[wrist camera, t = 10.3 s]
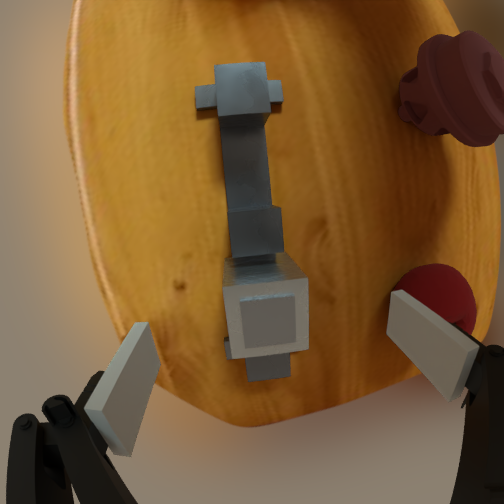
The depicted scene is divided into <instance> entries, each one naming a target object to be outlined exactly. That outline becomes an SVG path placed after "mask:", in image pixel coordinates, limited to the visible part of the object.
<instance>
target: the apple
mask: <svg viewBox="0 0 504 504" xmlns="http://www.w3.org/2000/svg"><path fill="white" fill-rule="evenodd" d="M397 290H403V291H405V292H406V293H408V294H409V295H411V296H412V297H413V298H415V299H416V300H418V301H419V302H421V303H422V304H423V305H425V306H426V307H428V308H429V309H430V310H432V311H433V312H435V313H436V314H437V315H439V316H440V317H442V318H443V319H444V320H446V321H447V322H451V323H453V324H456V325H458V326H459V327H460V328H462V329H463V330H464V331H466V332H467V333H469V335H471V334H472V332H473V330H474V326H475V323H476V304H475V298H474V295H473V292H472V289H471V287H470V286H469V284H468V282H467V280H466V279H465V278H464V277H463V276H462V275H461V274H460V272H459V271H457V270H456V269H455V268H453V267H451V266H448V265H444V264H429V265H423V266H419V267H416V268H414V269H412V270H410V271H409V272H408V273H406V274H405V275H404V276H403V277H402V278H401V279H400V281H399V282H398V283H397V285H396V287H395V288H394V291H397ZM389 308H390V306H389Z"/></svg>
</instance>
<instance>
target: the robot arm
mask: <svg viewBox="0 0 504 504" xmlns="http://www.w3.org/2000/svg"><path fill="white" fill-rule="evenodd" d="M386 334H387V335H388V336H389V337H390V339H391V340H392V341H393V342H394V343H395V344H396V345H397V346H398V347H399V348H400V349H401V350H402V351H403V352H404V353H405V355H406V356H407V357H408V358H409V359H410V360H411V361H412V362H413V363H414V364H415V365H416V366H417V368H418V369H419V370H420V371H421V372H422V373H423V374H424V375H425V376H426V377H427V379H428V380H429V381H430V382H431V383H432V384H433V385H434V386H435V388H436V389H437V390H438V391H439V392H440V393H441V394H442V395H443V396H444V398H445V399H446V400H447V401H448V402H451V401H452V400H454V399H456V398H458V397H460V396H461V393H462V391H463V389H464V387H467V389H468V393H467V395H466V397H465V399H464V401H463V403H462V406H461V408H463V407H464V405H465V404H466V413H465V425H464V435H463V443H462V450H461V456H460V462H459V467H458V473H457V477H456V482H455V486H454V490H453V494H452V498H451V501H450V504H504V348H503V347H501V346H499V345H489V346H487V347H486V346H484V345H483V344H482V343H480V342H479V341H478V340H477V339H475V338H474V337H473V336H471V335H469V333H467V332H466V331H464V330H463V329H462V328H460V327H459V326H458V325H456V324H453V323H451V322H447V321H446V320H444V319H443V318H442V317H440V316H439V315H437V314H436V313H435V312H433V311H432V310H430V309H429V308H428V307H426V306H425V305H423V304H422V303H421V302H419V301H418V300H416V299H415V298H413V297H412V296H411V295H409V294H408V293H406V292H405V291H403V290H397V291H392V292H391V299H390V308H389V317H388V325H387V332H386ZM160 365H161V364H160V360H159V357H158V354H157V351H156V347H155V344H154V341H153V337H152V334H151V330H150V326H149V323H148V322H136V323H135V324H134V325H133V327H132V328H131V330H130V331H129V333H128V335H127V336H126V338H125V339H124V341H123V343H122V344H121V346H120V347H119V349H118V351H117V352H116V354H115V356H114V357H113V359H112V361H111V362H110V364H109V365H108V367H107V369H106V371H98V372H97V373H96V374H95V375H93V376H92V377H91V379H90V380H89V382H88V384H87V386H86V387H85V388H84V391H83V392H82V393H81V395H80V396H79V398H78V400H77V402H76V403H75V405H73V403H72V401H71V400H70V398H69V397H67V396H65V395H55V396H52V397H50V398H49V399H47V400H46V401H45V402H44V404H43V406H42V412H43V414H44V415H45V417H46V418H47V420H48V421H49V422H45V423H40V422H39V421H38V419H37V418H36V417H35V415H33V414H23V415H21V416H19V417H18V418H17V419H16V420H15V422H14V424H13V430H12V435H11V441H10V448H9V458H8V467H7V485H6V504H74V500H73V493H72V487H71V484H72V486H73V488H74V491H75V493H76V495H77V497H78V500H79V502H80V504H138V503H137V502H136V500H135V499H134V497H133V496H132V494H131V493H130V491H129V490H128V488H127V487H126V485H125V484H124V482H123V481H122V479H121V477H120V476H119V474H118V473H117V471H116V470H115V467H114V466H113V464H112V462H111V461H110V459H109V457H108V456H107V454H106V451H107V448H108V447H109V448H110V449H111V451H112V452H113V454H115V455H121V456H128V457H131V455H132V451H133V448H134V444H135V441H136V438H137V435H138V431H139V428H140V425H141V422H142V419H143V415H144V412H145V409H146V406H147V403H148V400H149V397H150V394H151V391H152V388H153V385H154V382H155V380H156V377H157V374H158V371H159V368H160Z"/></svg>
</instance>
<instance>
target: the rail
mask: <svg viewBox="0 0 504 504" xmlns="http://www.w3.org/2000/svg"><path fill="white" fill-rule="evenodd" d="M214 71H215V84H212V85H204V86H196V87H195V96H196V109H197V111H201V110H208V109H218V119H219V124H220V131H221V142H222V153H223V163H224V174H225V184H226V194H227V203H228V212H227V214H228V223H229V232H230V241H231V250H232V258H236V257H245V256H254V255H263V254H272V253H281V252H284V242H283V229H282V216H281V208H280V207H277V206H274V205H272V199H271V188H270V177H269V167H268V157H267V147H266V138H265V128H264V125H265V123H266V121H267V119H268V117H269V116H270V114H271V106H270V104H282V103H283V93H282V86H281V80H267V74H266V66H265V62H250V63H234V64H222V65H214ZM224 345H225V351H226V357H227V360H229V359H232V354H231V347H230V340H229V337H224ZM238 359H239V358H238ZM245 362H246V370H247V377H248V382H253V381H261V380H269V379H276V378H283V377H289V376H291V374H290V352H288V353H281V354H273V355H266V356H257V357H248V358H245Z"/></svg>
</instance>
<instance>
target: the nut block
mask: <svg viewBox="0 0 504 504" xmlns="http://www.w3.org/2000/svg"><path fill="white" fill-rule="evenodd" d="M222 288H223V296H224V303H225V311H226V318H227V326H228V333H229V340H230V347H231V354H232V359H238V358H248V357H257V356H266V355H273V354H281V353H288V352H295V351H301V350H307V349H309V295H308V277H307V276H306V275H305V274H304V272H303V271H302V270H301V269H300V268H299V267H298V266H297V264H296V263H295V262H294V261H293V260H292V259H291V258H290V256H289V255H288V254H287V253H286V252H281V253H272V254H263V255H254V256H245V257H236V258H232V257H231V258H225V262H224V274H223V286H222Z"/></svg>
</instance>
